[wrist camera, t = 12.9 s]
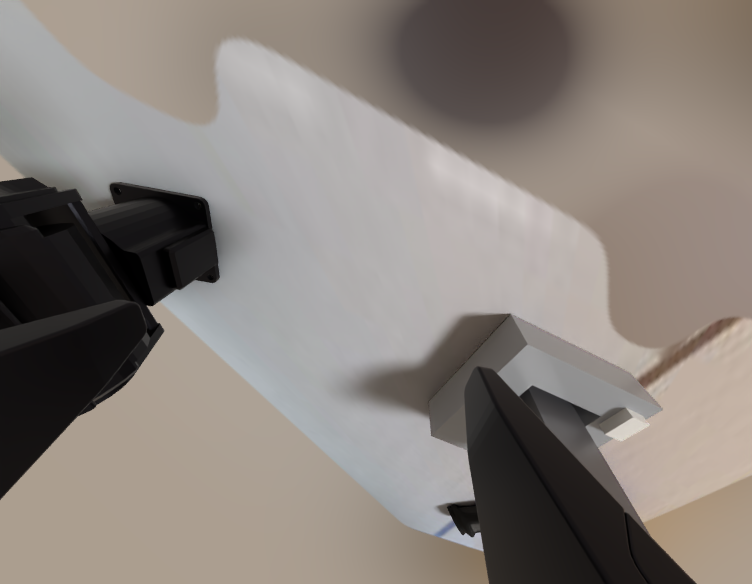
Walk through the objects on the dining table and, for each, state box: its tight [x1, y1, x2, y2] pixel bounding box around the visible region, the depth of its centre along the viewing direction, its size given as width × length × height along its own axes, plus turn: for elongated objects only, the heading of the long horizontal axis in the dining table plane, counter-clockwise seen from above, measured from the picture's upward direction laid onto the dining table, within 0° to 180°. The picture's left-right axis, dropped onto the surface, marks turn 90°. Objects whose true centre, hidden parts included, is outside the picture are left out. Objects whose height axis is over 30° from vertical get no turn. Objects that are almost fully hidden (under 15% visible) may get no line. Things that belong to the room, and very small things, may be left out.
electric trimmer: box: [447, 504, 481, 537], centre depth 35 cm, size 4×16×3 cm, turn 118°
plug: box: [519, 385, 650, 535], centre depth 20 cm, size 4×4×13 cm
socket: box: [428, 314, 663, 450], centre depth 23 cm, size 12×12×4 cm
